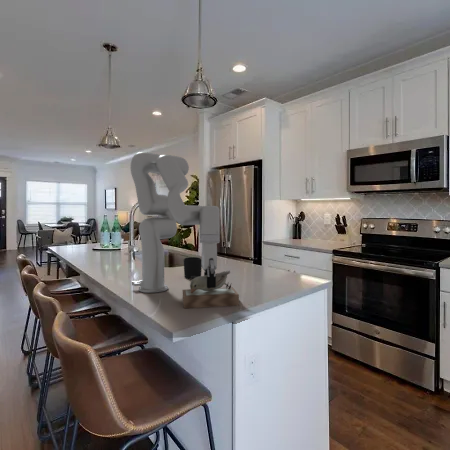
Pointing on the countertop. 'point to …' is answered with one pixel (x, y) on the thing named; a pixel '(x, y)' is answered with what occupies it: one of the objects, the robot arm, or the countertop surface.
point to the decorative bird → (202, 282)
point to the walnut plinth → (210, 298)
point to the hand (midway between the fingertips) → (209, 284)
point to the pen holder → (192, 267)
